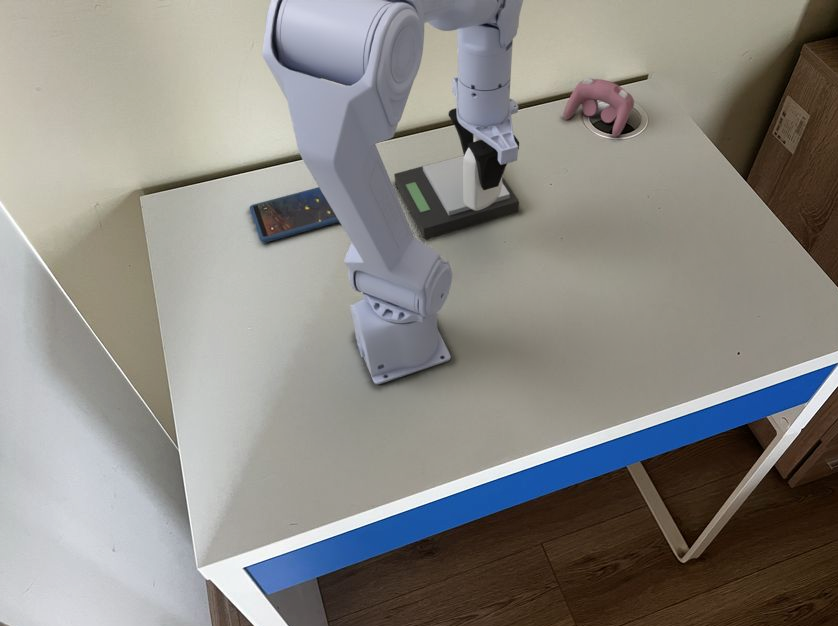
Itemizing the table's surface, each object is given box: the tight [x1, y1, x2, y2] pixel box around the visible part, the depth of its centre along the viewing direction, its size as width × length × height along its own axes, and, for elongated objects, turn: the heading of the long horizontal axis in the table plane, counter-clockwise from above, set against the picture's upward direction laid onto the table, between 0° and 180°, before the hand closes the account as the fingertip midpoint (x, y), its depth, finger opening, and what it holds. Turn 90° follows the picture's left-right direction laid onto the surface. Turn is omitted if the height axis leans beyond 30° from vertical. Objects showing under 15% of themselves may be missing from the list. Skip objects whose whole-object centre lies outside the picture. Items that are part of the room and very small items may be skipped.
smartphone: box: [249, 186, 340, 244], centre depth 97 cm, size 8×1×15 cm
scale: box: [393, 154, 520, 240], centre depth 98 cm, size 14×12×3 cm
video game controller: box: [563, 78, 635, 138], centre depth 108 cm, size 10×5×7 cm, turn 58°
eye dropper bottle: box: [463, 135, 502, 211], centre depth 85 cm, size 4×6×12 cm
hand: (482, 174), depth 87 cm, fingers closed on eye dropper bottle, 4 cm apart
